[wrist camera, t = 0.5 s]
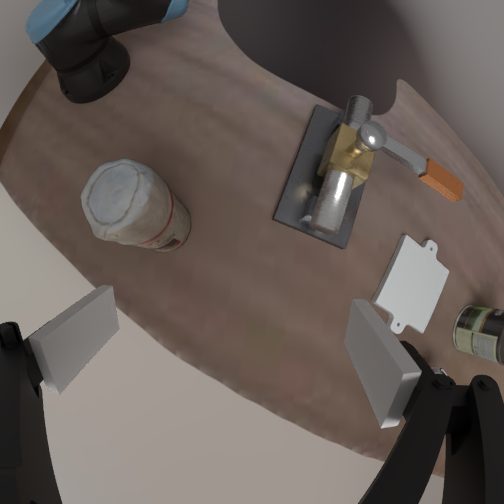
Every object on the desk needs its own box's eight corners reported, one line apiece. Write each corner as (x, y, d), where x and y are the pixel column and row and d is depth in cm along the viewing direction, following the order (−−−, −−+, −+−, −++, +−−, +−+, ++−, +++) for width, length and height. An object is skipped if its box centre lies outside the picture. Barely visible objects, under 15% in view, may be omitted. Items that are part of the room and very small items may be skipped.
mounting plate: (405, 224, 45) (411, 222, 43) (447, 259, 46) (453, 259, 44) (362, 314, 44) (368, 316, 42) (410, 343, 44) (416, 345, 42)
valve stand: (341, 249, 43) (387, 242, 30) (272, 219, 43) (293, 199, 29) (373, 137, 45) (414, 102, 31) (314, 108, 44) (342, 61, 30)
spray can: (133, 248, 40) (65, 235, 21) (144, 196, 41) (87, 147, 21) (186, 257, 41) (151, 251, 21) (196, 203, 42) (171, 153, 22)
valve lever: (352, 143, 29) (359, 137, 28) (358, 122, 30) (365, 115, 28) (452, 204, 31) (461, 202, 29) (454, 183, 31) (463, 180, 29)
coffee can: (458, 301, 45) (508, 308, 31) (483, 307, 46) (528, 314, 32) (446, 350, 45) (493, 366, 31) (472, 351, 46) (515, 365, 32)
